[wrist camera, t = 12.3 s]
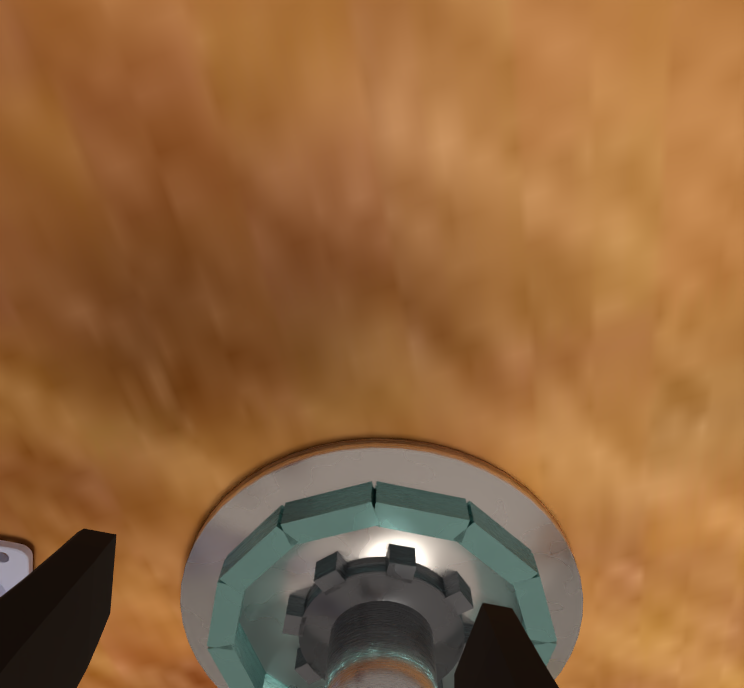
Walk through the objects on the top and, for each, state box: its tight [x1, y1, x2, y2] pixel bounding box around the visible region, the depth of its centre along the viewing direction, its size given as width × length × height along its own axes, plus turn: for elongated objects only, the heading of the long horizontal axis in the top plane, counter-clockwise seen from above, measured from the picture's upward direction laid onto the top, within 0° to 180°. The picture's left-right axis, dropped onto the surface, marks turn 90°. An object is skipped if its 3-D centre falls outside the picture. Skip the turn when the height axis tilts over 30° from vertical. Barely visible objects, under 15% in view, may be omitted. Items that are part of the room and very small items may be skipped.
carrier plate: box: [180, 438, 583, 688], centre depth 25 cm, size 16×16×2 cm
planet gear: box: [282, 544, 474, 688], centre depth 23 cm, size 8×8×6 cm
